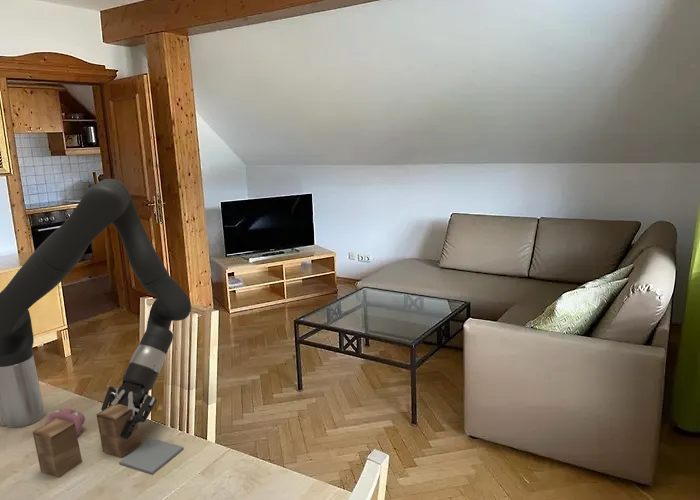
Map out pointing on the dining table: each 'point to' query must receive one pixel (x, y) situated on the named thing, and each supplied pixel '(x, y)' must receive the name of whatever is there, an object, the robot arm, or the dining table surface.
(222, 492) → the dining table surface
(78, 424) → the video game controller
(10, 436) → the dining table surface
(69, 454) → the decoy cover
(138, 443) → the brown rectangular block
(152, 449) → the slate mat
